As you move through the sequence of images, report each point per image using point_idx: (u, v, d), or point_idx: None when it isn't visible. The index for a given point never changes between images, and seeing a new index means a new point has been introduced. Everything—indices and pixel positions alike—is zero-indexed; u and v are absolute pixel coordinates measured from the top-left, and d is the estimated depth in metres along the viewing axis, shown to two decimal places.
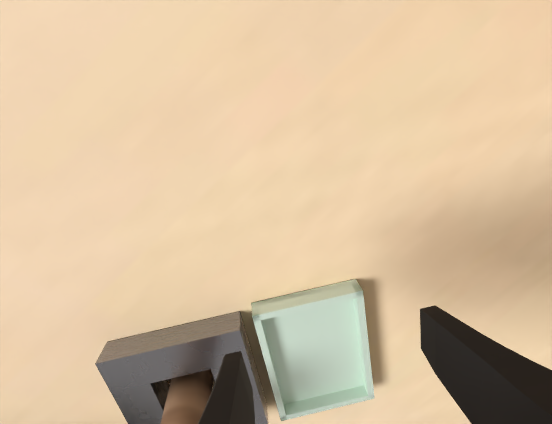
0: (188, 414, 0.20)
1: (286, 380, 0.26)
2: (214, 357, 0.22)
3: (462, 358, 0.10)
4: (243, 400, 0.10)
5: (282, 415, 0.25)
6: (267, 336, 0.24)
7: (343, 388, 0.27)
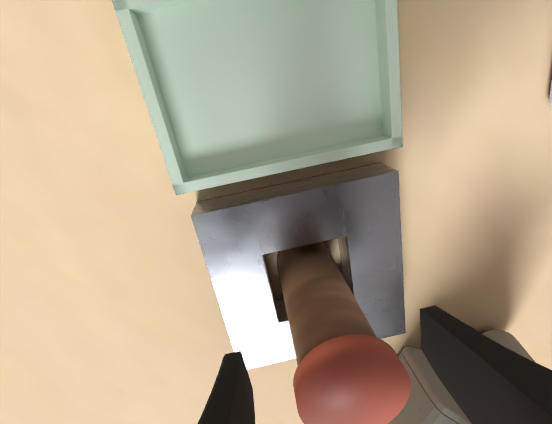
0: (289, 305, 0.14)
1: (331, 133, 0.15)
2: (240, 249, 0.15)
3: (462, 358, 0.10)
4: (243, 400, 0.10)
5: (390, 144, 0.15)
6: (235, 165, 0.15)
7: (371, 18, 0.14)
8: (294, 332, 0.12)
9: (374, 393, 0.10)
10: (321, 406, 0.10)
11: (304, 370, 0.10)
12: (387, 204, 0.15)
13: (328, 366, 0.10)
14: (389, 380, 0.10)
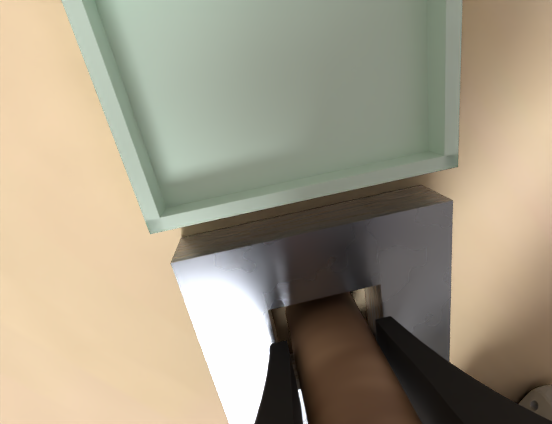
0: (307, 391, 0.10)
1: (359, 148, 0.11)
2: (238, 304, 0.11)
3: (408, 371, 0.10)
4: (294, 388, 0.10)
5: (441, 164, 0.11)
6: (231, 191, 0.11)
7: None
8: None
9: None
10: None
11: None
12: (435, 243, 0.11)
13: None
14: None
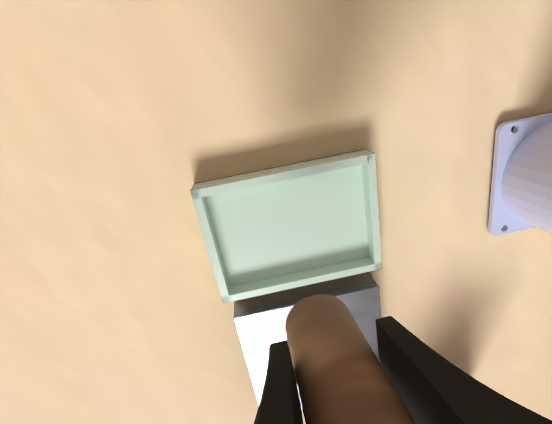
0: (306, 398, 0.10)
1: (331, 256, 0.22)
2: (267, 338, 0.22)
3: (408, 371, 0.10)
4: (294, 388, 0.10)
5: (373, 267, 0.21)
6: (263, 278, 0.22)
7: (360, 187, 0.20)
8: None
9: None
10: None
11: None
12: (371, 307, 0.22)
13: None
14: None
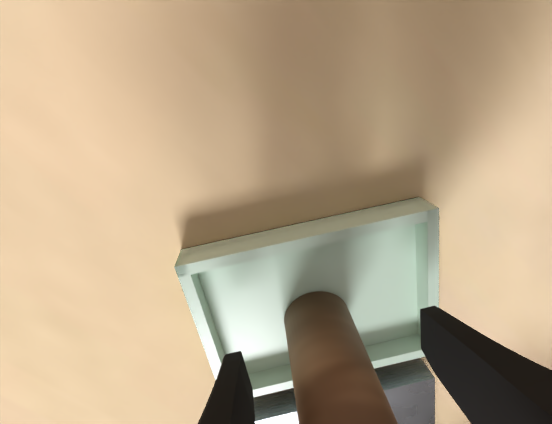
0: (299, 400, 0.11)
1: (369, 335, 0.16)
2: None
3: (462, 358, 0.10)
4: (243, 400, 0.10)
5: None
6: (278, 365, 0.16)
7: (411, 249, 0.14)
8: None
9: None
10: None
11: None
12: (423, 402, 0.16)
13: None
14: None
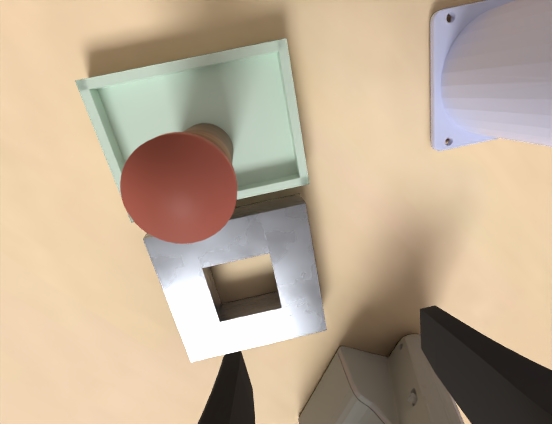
0: None
1: (255, 172, 0.19)
2: (184, 264, 0.19)
3: (462, 358, 0.10)
4: (243, 400, 0.10)
5: (299, 182, 0.19)
6: None
7: (279, 88, 0.18)
8: None
9: (199, 187, 0.10)
10: (147, 200, 0.10)
11: (128, 162, 0.10)
12: (299, 228, 0.19)
13: (144, 149, 0.10)
14: (211, 172, 0.10)
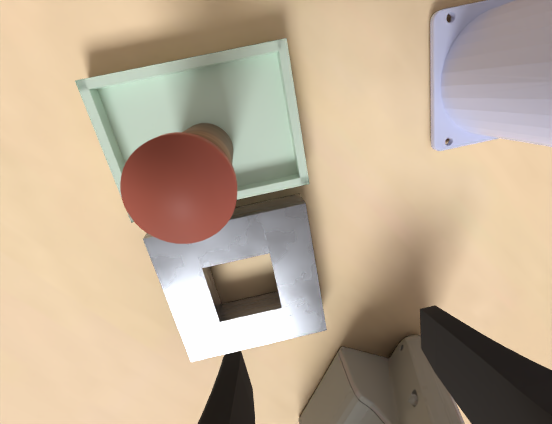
0: None
1: (255, 172, 0.19)
2: (184, 264, 0.19)
3: (462, 358, 0.10)
4: (243, 400, 0.10)
5: (299, 182, 0.19)
6: None
7: (279, 87, 0.18)
8: None
9: (199, 188, 0.10)
10: (147, 200, 0.10)
11: (128, 162, 0.10)
12: (299, 228, 0.19)
13: (144, 149, 0.10)
14: (212, 173, 0.10)
